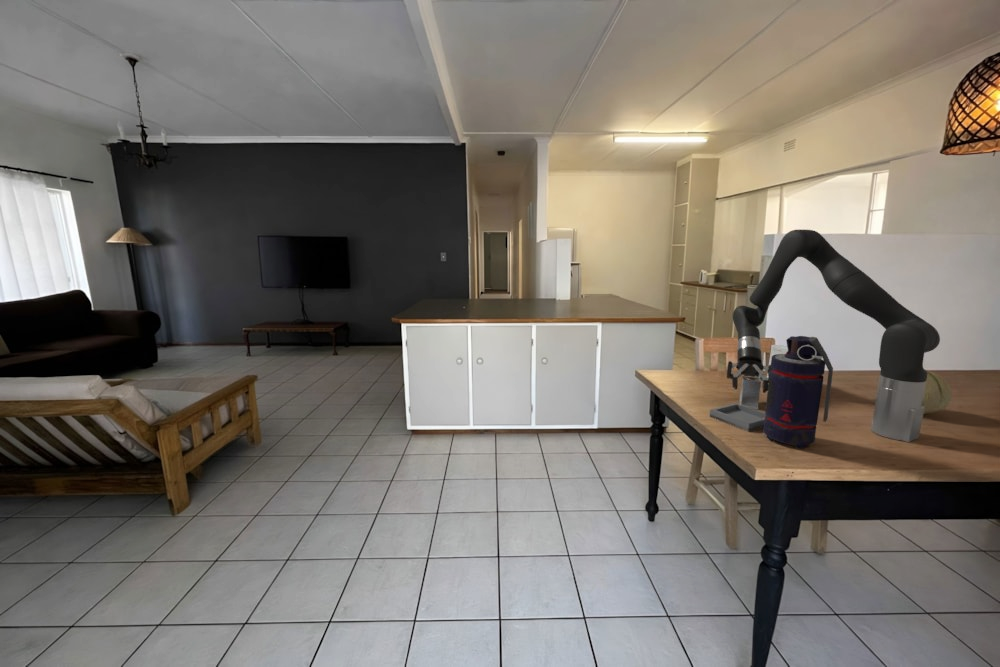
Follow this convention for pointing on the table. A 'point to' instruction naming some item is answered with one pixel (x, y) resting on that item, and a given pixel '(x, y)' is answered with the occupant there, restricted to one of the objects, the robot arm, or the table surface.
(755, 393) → the grey tall block
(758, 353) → the robot arm
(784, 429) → the grenade
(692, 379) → the table surface
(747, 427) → the tray
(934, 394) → the honeydew melon
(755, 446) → the table surface
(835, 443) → the table surface
